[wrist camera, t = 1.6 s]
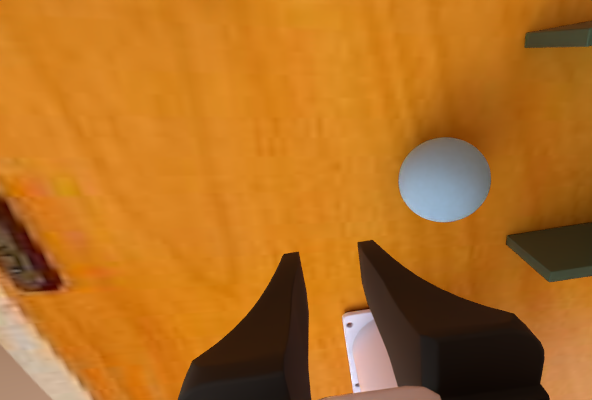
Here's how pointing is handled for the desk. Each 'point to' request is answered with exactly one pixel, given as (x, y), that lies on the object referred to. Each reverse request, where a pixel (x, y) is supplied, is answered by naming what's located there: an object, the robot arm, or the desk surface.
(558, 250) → the box
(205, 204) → the desk surface
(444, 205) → the ball
